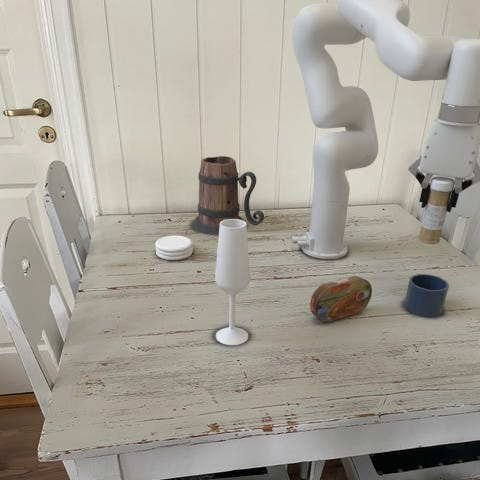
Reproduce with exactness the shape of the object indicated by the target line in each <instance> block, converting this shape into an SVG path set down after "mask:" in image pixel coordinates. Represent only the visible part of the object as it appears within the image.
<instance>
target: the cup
mask: <svg viewBox="0 0 480 480" xmlns="http://www.w3.org/2000/svg"><path fill="white" fill-rule="evenodd" d="M449 284H450V283H448V281H447V280H446V279H444V278H442V277H440V276H437V275H433V274H429V273H418V274H414V275H412V276H410V277H409V279H408V284H407V288H406V293H405V298H404V304H403V306H404V308H405V310H407V312H409V313H410V314H412V315H415V316H417V317H418V316H419V317H421V318H422V317H423V318H434V317H435V318H436V317H438V316H440V315H441V314H443V313H442V312H443V310H444V307H445V303H446V299H447V295H448V291H449V288H450V285H449Z"/></svg>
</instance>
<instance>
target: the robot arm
mask: <svg viewBox="0 0 480 480" xmlns="http://www.w3.org/2000/svg"><path fill="white" fill-rule="evenodd" d="M410 19H411V12H410V8H409V6H408V4H407V3H405V2H404V0H337V3H335V2H316V3H311V4H308V5H306V6H304V7H302V8H301V9H300V10H299V11H298V13H297V15H296V17H295V20H294V23H293V28H292V37H291V39H292V40H291V41H292V48H293V52H294V56H295V59H296V61H297V64H298V67H299V69H300V72H301V76H302V79H303V85H304V90H305V95H306V99H307V105H308V109H309V114H310V118H311V121H312V123H313V125H314V126H315V127H316V128H318V129H338V128H344V129H345V130H341V131H333V132H328V133H325V134H323V135H321V136H320V137H318V138H317V140H316V141H315V142H314V144H313V147H312V163H313V164H312V166H313V187H312V198H311V208H310V220H309V229H308V230H309V231H306V233H305V234H303V235H302V236H297V235H296V236H291V244H297V247H301V251H302V252H303V253H304V254H306V255H307V256H309V257H311V258H315V259H319V260H336V259H341V258H343V257H345V256H346V255H347V254H348V246H347V245H346V244H345V243H344V236H345V229H346V222H347V214H348V209H349V208H348V207H349V199H350V192H351V191H350V190H351V189H350V188H351V187H350V183H349V180H348V177H347V175H346V172H347V171H352V170H357V169H363V168H367V167H369V166H371V165H372V164H373V163H374V162H375V161H376V159H377V157H378V153H379V139H378V134H377V127H376V121H375V117H374V112H373V107H372V102H371V99H370V97H369V95H368V93H367V92H366V91H365V90H364V89H363V88H362V87H359V86H355V85H354V86H353V85H349V86H348V85H347V86H343V85H342V84H341V81H340V78H339V77H340V76H339V71H338V67H337V64H336V62H335V61H334V58H333V57H332V56H331V54H330V53H329V52H328V51H327V50H326V48H325V46H328V45H329V46H340V45H341V46H342V45H343V46H348V45H354V44H357V43H359V42H361V41H363V40H365V39H367V38H368V39H369V40H370V41H372V42H373V43H374V49H375V52H376V55H377V57H378V59H379V62H381V63H382V65H384V66H385V67H386V68H387V69H388V70H390V71H391V72H393V73H394V74H395V75H397V76H398V77H400V78H402V79H404V80H405V81H411V82H422V81H423V82H424V81H444V80H445V84H444V88H443V93H442V95H441V102H440V105H439V110H438V113H437V114H438V115H437V118H433V120H432V122H431V124H430V128H429V130H428V132H427V135H426V138H425V142H424V146H423V149H422V153H421V154H420V155H419V157H417V158H416V159H415V160H414V161H413V162H412V163H411V164H410V165H409V166H408V169H407V170H408V171H409V173H410V174H411V175H413V176H414V177H415V179H416V180H417V182H418V183H419V184H420V187H421V192H420V196H419V201H418V203H421V206H420V208H421V209H425V208H426V204H427V199H428V196H429V191H430V183H431V179H432V178H433V177H434V176H439V177H448V178H454V181H455V184H454V189H453V190H452V193H451V196H450V201H449V205H448V209H447V213H451V211H452V209H453V208H456V207H457V203H458V200H459V197H460V194H461V193H462V192H463V191H465V190H466V189H468V188H470V187H471V186H473V185H475V184H478V183H480V165H479V163H478V157H479V152H480V38H467V37H463V36H458V35H453V34H452V35H450V34H447V35H446V34H445V35H443V34H437V35H436V34H419V33H417V32H415V31H413V30H412V29H410V28H409V27H408V26H409V24H410ZM472 175H473V176H472ZM471 176H472V177H471ZM464 179H465V180H464Z"/></svg>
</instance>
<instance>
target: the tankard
mask: <svg viewBox="0 0 480 480" xmlns="http://www.w3.org/2000/svg"><path fill="white" fill-rule="evenodd" d="M248 177H249V178H250V186H249V188H248V185H247V182H248ZM239 185H240V187H241V188H242V189H244V190H245V189H247V188H248V190H247V191H246V193H245V195H244V200H243V211H244V215H245V219H246V221H247V222H248V223H249V224H250V225H251V226H254V227H255V226H259V225H260V224H261V223H263V222H264V220H265V214H264V212H263V211H262V210H258V209H257V210H256V211H255V212H253V214H251V210H250V199H251V195H252V192H254V189H255V188H256V185H257V176H256V174H255V173H254V172H252V171H246V172H244V173H242V174H241V175H240V176H239V172H238V168H237V161H236V159H234V158H233V157H230V156H225V155H219V156H208V157H204V158H201V161H200V168H199V171H198V204H197V211H198V216H196V218H195V219H194V221H193V222H192V223H191V227H192V229H193V230H194V231H197V232H199V233H202V234H206V235H213V236H215V235H216V236H219V228H220V222H221V221H223V220H227V219H239V220H242V221H244V220H243V218H242V217H241V216H240V203H239ZM257 216H258V217H257Z"/></svg>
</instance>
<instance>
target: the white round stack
mask: <svg viewBox="0 0 480 480" xmlns="http://www.w3.org/2000/svg"><path fill="white" fill-rule="evenodd" d="M154 246H155V254H156V256H157V257H158V258H160V259H162V260H166V261H181V260H185V259H188V258H189V257H191V256H192V255H193V251H194V250H193V248H194V247H193V241H192V239H190V238H189V237H188V236H183V235H166V236H163V237H160V238H158V239H157V240H156V241H155V243H154Z"/></svg>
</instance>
